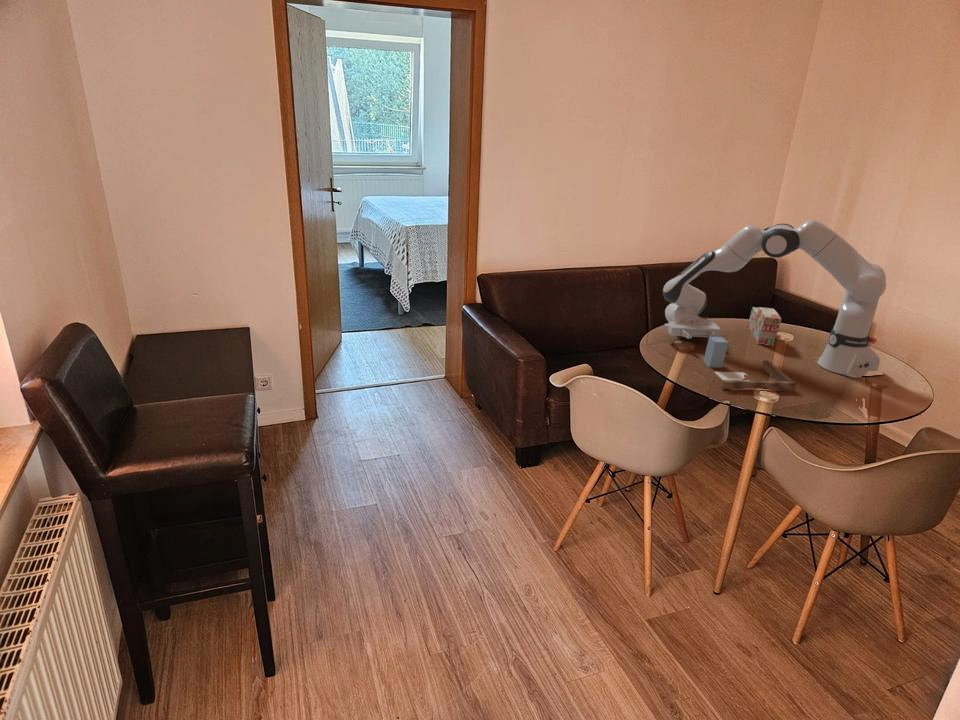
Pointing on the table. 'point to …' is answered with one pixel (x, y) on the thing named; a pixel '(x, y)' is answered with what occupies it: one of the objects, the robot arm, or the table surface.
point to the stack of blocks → (764, 324)
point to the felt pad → (731, 375)
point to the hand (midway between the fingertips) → (701, 337)
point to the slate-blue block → (715, 352)
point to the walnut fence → (780, 385)
